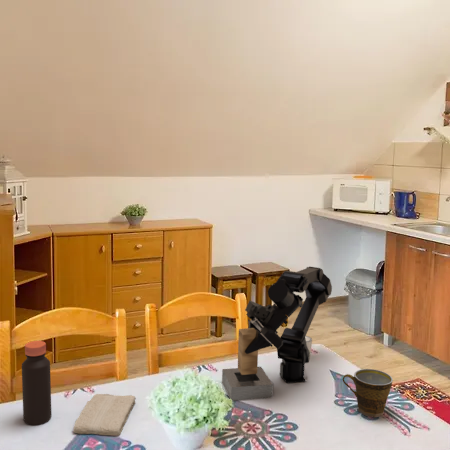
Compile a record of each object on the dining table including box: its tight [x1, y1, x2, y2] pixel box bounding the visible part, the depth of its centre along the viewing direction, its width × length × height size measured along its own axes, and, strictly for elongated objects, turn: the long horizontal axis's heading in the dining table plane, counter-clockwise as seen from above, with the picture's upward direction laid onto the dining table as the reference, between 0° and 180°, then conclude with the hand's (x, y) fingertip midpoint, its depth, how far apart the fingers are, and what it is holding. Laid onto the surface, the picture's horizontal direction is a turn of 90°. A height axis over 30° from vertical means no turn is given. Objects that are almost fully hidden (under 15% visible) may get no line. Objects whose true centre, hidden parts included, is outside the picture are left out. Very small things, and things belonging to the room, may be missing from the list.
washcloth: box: [72, 393, 136, 436], centre depth 135 cm, size 12×18×3 cm, turn 177°
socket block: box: [221, 366, 274, 402], centre depth 152 cm, size 12×12×4 cm
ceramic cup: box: [342, 368, 394, 418], centre depth 141 cm, size 13×10×10 cm
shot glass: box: [305, 335, 313, 359], centre depth 175 cm, size 7×7×7 cm
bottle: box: [21, 340, 52, 426], centre depth 131 cm, size 7×7×20 cm
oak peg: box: [237, 327, 259, 375], centre depth 150 cm, size 5×5×12 cm
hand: (243, 349), depth 149 cm, fingers closed on oak peg, 5 cm apart
